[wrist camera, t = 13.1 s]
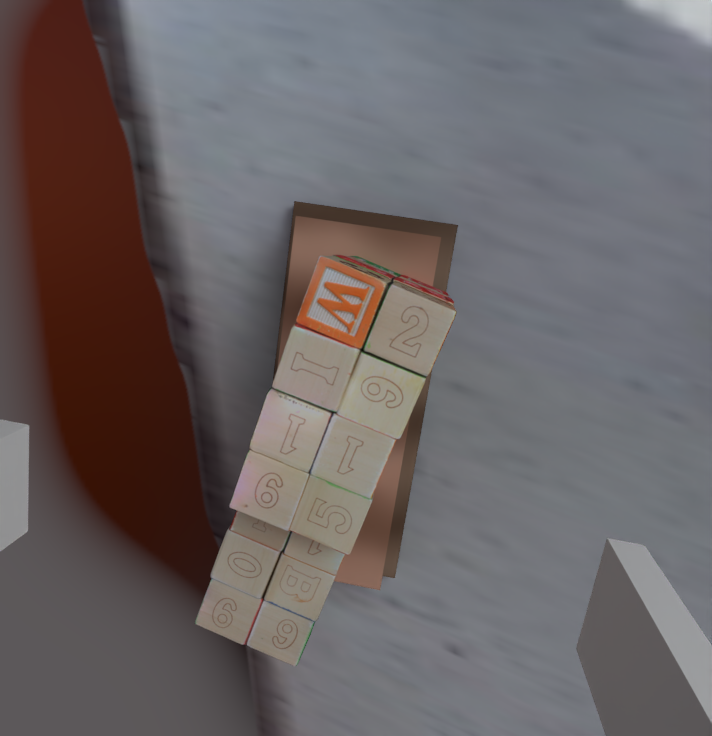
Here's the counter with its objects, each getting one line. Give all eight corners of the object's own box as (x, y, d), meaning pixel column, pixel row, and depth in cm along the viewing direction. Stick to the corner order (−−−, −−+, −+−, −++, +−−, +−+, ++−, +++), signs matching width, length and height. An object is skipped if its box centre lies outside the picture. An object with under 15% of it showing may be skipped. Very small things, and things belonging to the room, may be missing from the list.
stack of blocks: (324, 577, 41) (281, 713, 29) (241, 541, 41) (164, 662, 29) (449, 290, 36) (460, 311, 24) (354, 251, 36) (318, 252, 24)
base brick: (299, 203, 41) (281, 196, 36) (456, 226, 40) (460, 222, 35) (258, 540, 46) (238, 574, 41) (395, 567, 45) (392, 605, 40)
